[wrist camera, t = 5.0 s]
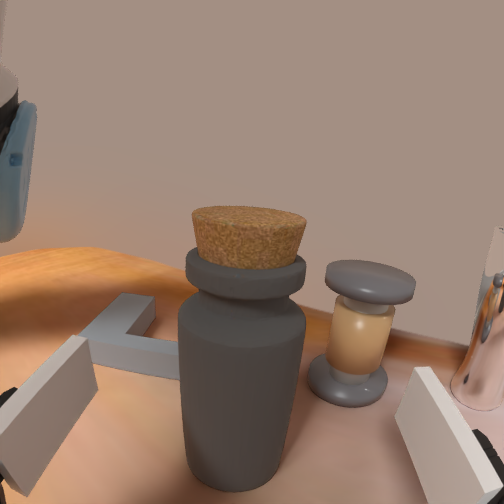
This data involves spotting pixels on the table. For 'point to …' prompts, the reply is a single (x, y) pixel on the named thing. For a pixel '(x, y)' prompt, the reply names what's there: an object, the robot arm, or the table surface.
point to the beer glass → (486, 338)
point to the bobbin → (358, 331)
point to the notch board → (131, 339)
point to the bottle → (240, 343)
